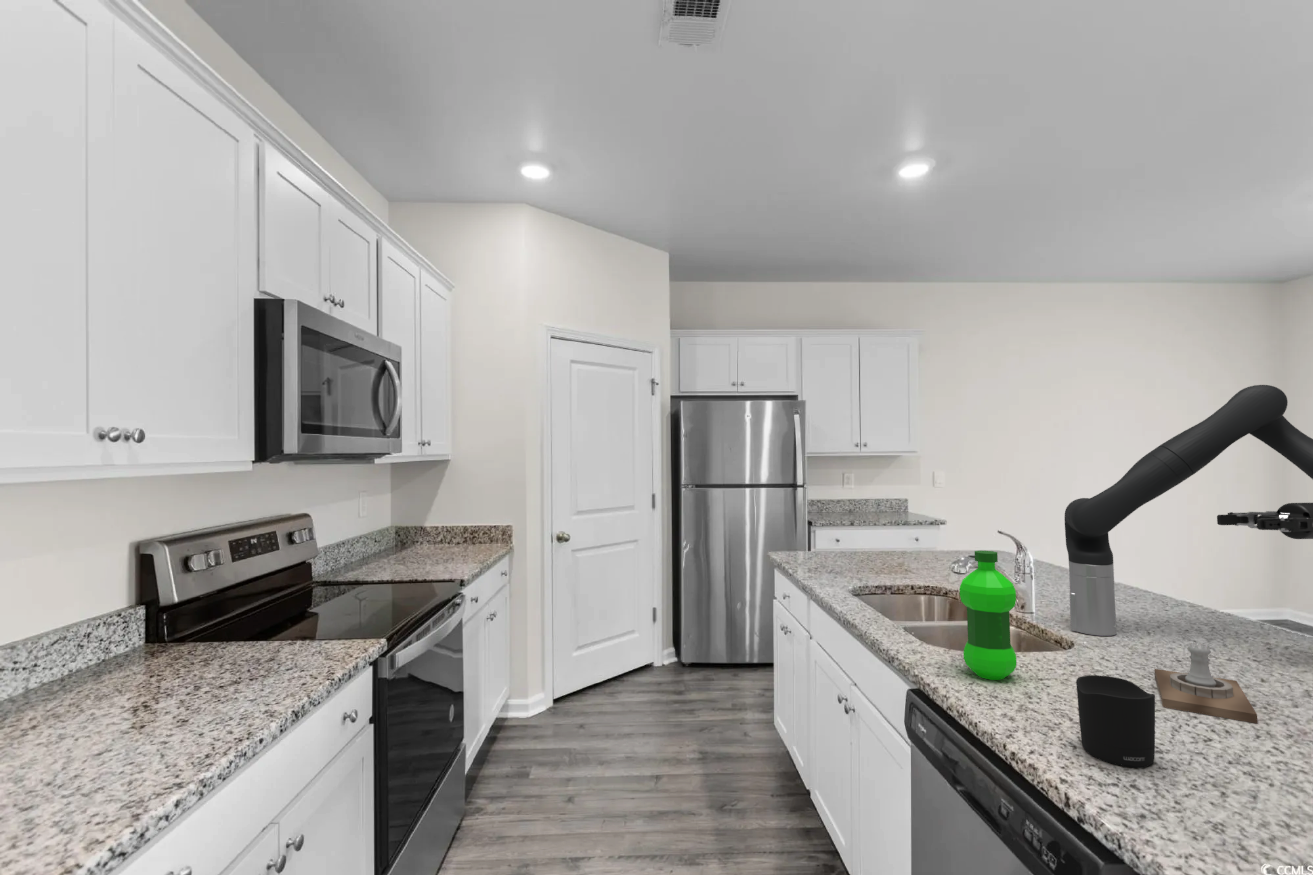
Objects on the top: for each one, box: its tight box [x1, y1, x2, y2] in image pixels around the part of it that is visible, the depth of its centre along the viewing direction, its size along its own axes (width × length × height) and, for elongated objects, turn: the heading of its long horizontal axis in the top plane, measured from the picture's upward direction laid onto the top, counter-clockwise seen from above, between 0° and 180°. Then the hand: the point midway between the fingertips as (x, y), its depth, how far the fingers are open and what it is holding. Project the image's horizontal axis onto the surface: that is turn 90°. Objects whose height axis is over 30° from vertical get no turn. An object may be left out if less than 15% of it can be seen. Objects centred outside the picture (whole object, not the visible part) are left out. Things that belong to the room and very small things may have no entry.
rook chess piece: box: [1185, 642, 1217, 688], centre depth 111 cm, size 4×4×8 cm
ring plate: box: [1153, 668, 1258, 724], centre depth 110 cm, size 12×18×3 cm, turn 144°
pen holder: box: [1075, 674, 1156, 769], centre depth 91 cm, size 9×9×10 cm
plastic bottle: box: [959, 550, 1017, 681], centre depth 124 cm, size 10×10×25 cm
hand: (1238, 522), depth 126 cm, fingers open, 8 cm apart
